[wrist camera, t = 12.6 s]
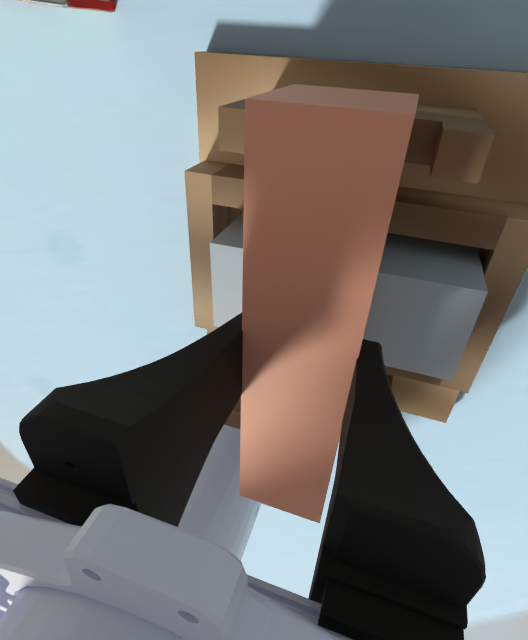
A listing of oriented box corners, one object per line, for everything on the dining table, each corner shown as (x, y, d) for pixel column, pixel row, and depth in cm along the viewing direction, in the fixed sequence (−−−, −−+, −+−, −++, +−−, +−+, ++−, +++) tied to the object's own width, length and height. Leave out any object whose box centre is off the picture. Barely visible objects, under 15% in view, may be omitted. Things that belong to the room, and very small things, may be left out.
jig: (445, 409, 23) (449, 509, 18) (215, 350, 26) (166, 421, 21) (591, 76, 13) (684, 95, 8) (205, 51, 17) (113, 53, 12)
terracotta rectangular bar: (337, 446, 20) (319, 523, 16) (268, 426, 20) (239, 495, 17) (419, 94, 11) (415, 114, 8) (294, 83, 12) (245, 98, 9)
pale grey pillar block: (447, 324, 19) (451, 381, 16) (245, 284, 21) (213, 326, 18) (476, 244, 16) (487, 291, 13) (246, 209, 19) (209, 242, 16)
